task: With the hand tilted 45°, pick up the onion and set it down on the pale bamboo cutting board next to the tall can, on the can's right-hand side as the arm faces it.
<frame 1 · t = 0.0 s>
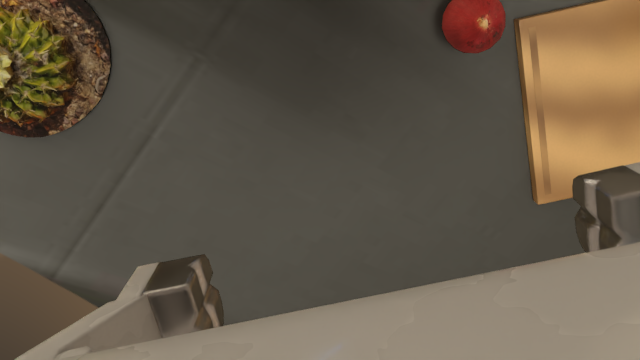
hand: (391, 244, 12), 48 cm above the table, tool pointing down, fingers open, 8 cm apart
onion: (462, 20, 58), on the table
cactus: (29, 56, 58), on the table
cutting board: (589, 100, 60), on the table
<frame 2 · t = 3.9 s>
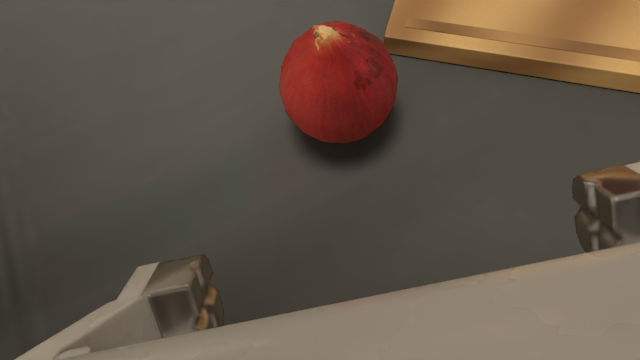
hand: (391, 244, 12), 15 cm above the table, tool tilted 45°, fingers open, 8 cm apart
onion: (345, 124, 32), on the table
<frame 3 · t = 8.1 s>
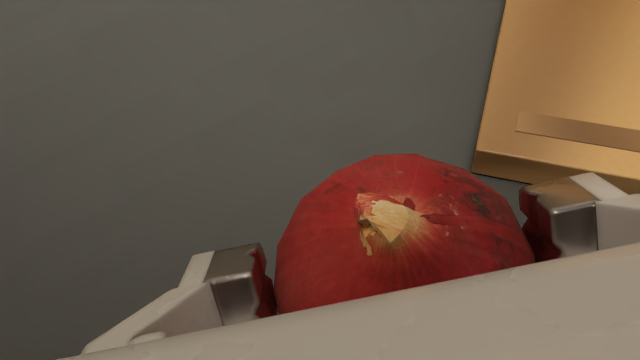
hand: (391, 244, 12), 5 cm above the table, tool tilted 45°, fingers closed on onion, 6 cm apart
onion: (403, 319, 16), on the table, touching gripper
when the fingers open (6 cm above the table, at t = 17.5 s): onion stays where it is, resting on cutting board.
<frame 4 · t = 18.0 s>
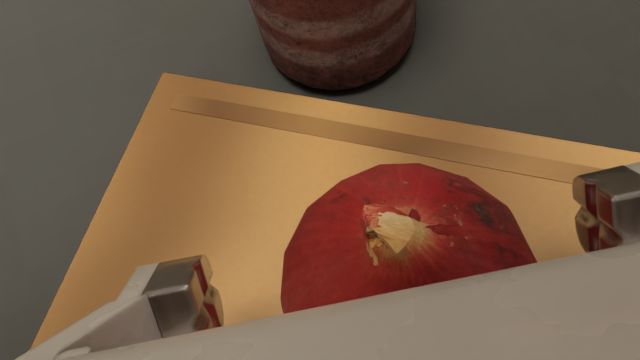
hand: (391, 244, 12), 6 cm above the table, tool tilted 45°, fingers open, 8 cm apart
can: (343, 39, 24), on the table
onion: (407, 324, 17), point 1 cm above the table, touching cutting board
cutting board: (371, 323, 18), on the table
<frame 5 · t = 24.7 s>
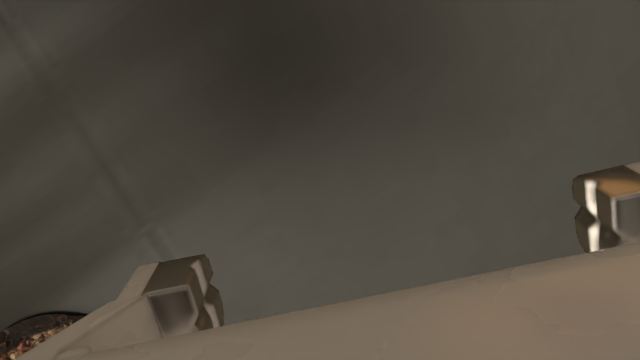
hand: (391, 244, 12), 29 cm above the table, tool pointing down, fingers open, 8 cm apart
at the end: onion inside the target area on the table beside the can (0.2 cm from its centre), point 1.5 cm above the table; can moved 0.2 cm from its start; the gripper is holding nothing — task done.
